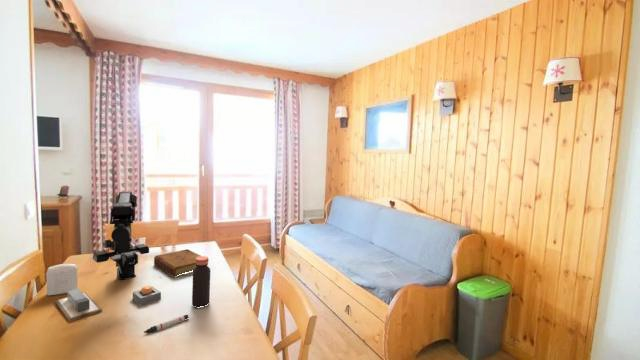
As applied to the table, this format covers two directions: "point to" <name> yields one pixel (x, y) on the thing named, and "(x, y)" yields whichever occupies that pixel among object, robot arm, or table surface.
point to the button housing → (146, 296)
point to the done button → (146, 290)
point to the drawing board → (71, 311)
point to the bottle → (201, 282)
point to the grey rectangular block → (78, 300)
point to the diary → (177, 262)
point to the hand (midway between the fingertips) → (122, 273)
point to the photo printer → (61, 278)
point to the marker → (166, 324)
